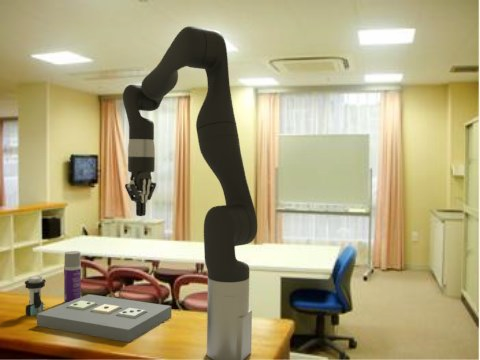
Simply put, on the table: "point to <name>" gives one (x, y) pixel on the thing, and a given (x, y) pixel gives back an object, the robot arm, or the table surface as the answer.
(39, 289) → the push button
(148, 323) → the button board
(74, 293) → the container
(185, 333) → the table surface
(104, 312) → the tile one pip
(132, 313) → the tile three pips
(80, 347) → the table surface
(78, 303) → the tile two pips
